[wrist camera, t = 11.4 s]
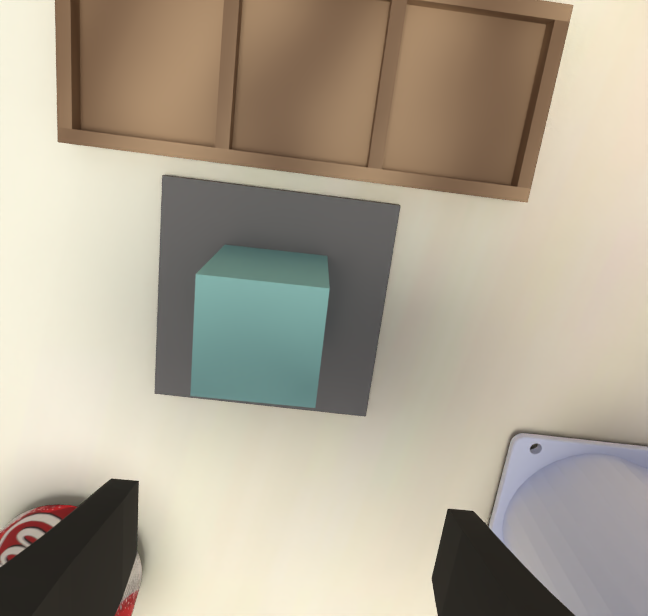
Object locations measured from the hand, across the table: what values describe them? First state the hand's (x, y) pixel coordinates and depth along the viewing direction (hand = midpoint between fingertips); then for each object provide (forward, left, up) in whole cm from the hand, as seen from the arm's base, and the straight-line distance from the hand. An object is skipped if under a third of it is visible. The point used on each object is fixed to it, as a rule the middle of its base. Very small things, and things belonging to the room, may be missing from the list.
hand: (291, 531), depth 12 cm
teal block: (+2, -2, -10) cm, 10 cm away
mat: (+2, -2, -10) cm, 11 cm away
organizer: (+1, -11, -10) cm, 15 cm away
